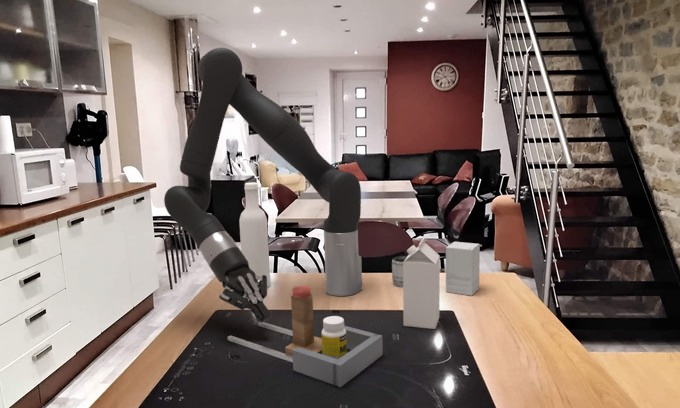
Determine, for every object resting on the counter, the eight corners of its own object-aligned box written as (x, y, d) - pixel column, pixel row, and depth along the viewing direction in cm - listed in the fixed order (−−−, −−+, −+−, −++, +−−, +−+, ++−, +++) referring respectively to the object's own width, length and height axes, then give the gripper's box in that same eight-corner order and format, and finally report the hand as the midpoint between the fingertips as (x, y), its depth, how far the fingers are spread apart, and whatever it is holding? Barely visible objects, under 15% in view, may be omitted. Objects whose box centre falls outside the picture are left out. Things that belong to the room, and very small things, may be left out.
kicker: (308, 341, 99) (305, 282, 97) (335, 349, 95) (334, 288, 93) (285, 354, 94) (282, 292, 92) (313, 363, 90) (311, 299, 88)
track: (260, 324, 109) (260, 321, 109) (324, 343, 99) (324, 340, 98) (227, 340, 101) (227, 336, 101) (293, 362, 91) (292, 358, 91)
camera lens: (418, 283, 136) (418, 256, 135) (407, 289, 131) (407, 261, 130) (399, 279, 140) (399, 253, 139) (387, 285, 135) (387, 258, 134)
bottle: (261, 280, 143) (255, 180, 138) (276, 285, 137) (271, 182, 132) (237, 286, 137) (231, 183, 133) (252, 292, 132) (246, 185, 127)
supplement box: (480, 288, 130) (480, 243, 128) (471, 296, 124) (472, 249, 122) (453, 284, 134) (454, 240, 132) (444, 292, 128) (445, 246, 126)
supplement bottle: (343, 368, 88) (342, 325, 87) (319, 366, 89) (317, 323, 88) (349, 356, 93) (348, 315, 91) (325, 354, 94) (324, 314, 92)
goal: (338, 341, 99) (337, 323, 99) (382, 354, 93) (382, 335, 92) (293, 370, 88) (292, 350, 87) (340, 387, 82) (340, 365, 81)
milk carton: (439, 317, 111) (440, 238, 108) (435, 330, 104) (435, 245, 101) (409, 314, 113) (408, 236, 110) (403, 326, 106) (402, 243, 103)
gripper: (207, 252, 99) (251, 321, 93) (252, 240, 109) (295, 300, 104) (192, 273, 102) (234, 340, 97) (238, 259, 113) (278, 318, 108)
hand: (266, 319), depth 101 cm, fingers closed
